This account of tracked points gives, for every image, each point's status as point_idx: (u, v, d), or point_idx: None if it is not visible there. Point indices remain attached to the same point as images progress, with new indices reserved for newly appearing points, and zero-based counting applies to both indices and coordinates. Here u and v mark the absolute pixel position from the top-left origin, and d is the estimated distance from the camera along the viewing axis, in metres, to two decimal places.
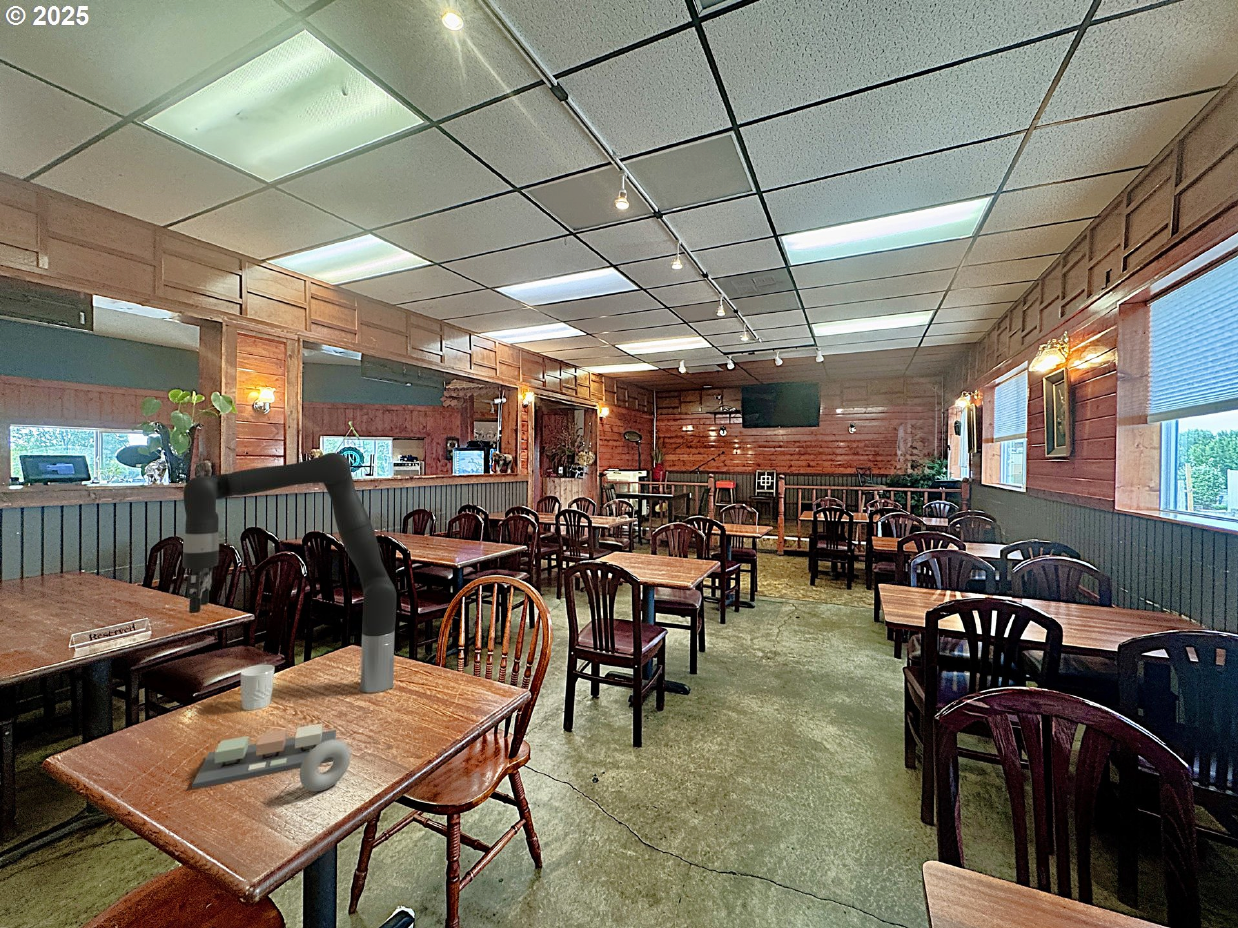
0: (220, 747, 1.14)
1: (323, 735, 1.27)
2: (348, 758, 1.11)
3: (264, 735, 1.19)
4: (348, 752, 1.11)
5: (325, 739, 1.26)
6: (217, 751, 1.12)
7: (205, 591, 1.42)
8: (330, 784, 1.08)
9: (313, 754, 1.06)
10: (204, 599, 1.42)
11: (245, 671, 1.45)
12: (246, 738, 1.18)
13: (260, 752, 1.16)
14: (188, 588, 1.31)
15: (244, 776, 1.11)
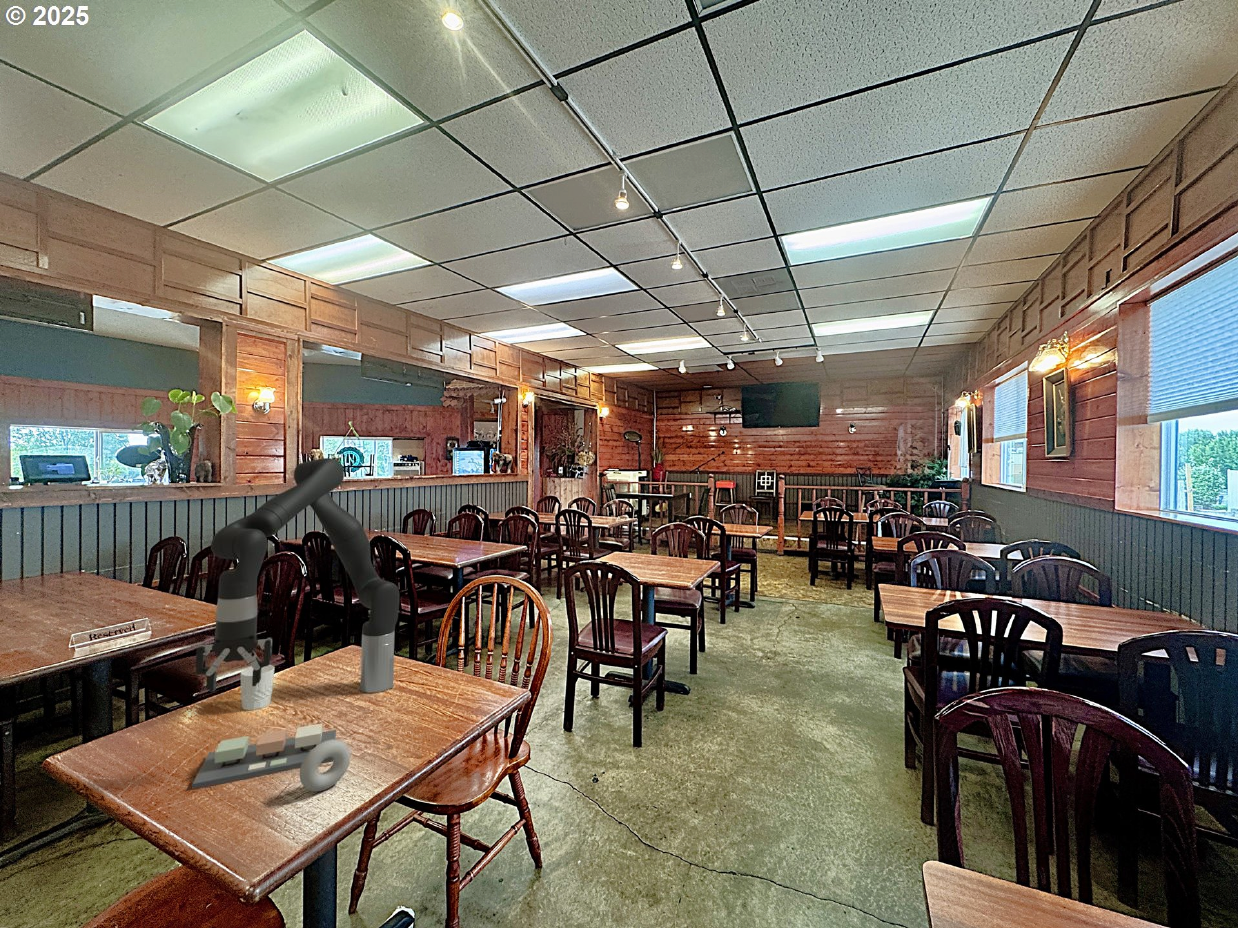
0: (220, 747, 1.14)
1: (323, 735, 1.27)
2: (348, 758, 1.11)
3: (264, 735, 1.19)
4: (348, 752, 1.11)
5: (325, 739, 1.26)
6: (217, 751, 1.12)
7: (215, 672, 1.14)
8: (330, 784, 1.08)
9: (313, 754, 1.06)
10: (215, 683, 1.14)
11: (245, 671, 1.45)
12: (246, 738, 1.18)
13: (260, 752, 1.16)
14: (270, 654, 1.18)
15: (244, 776, 1.11)
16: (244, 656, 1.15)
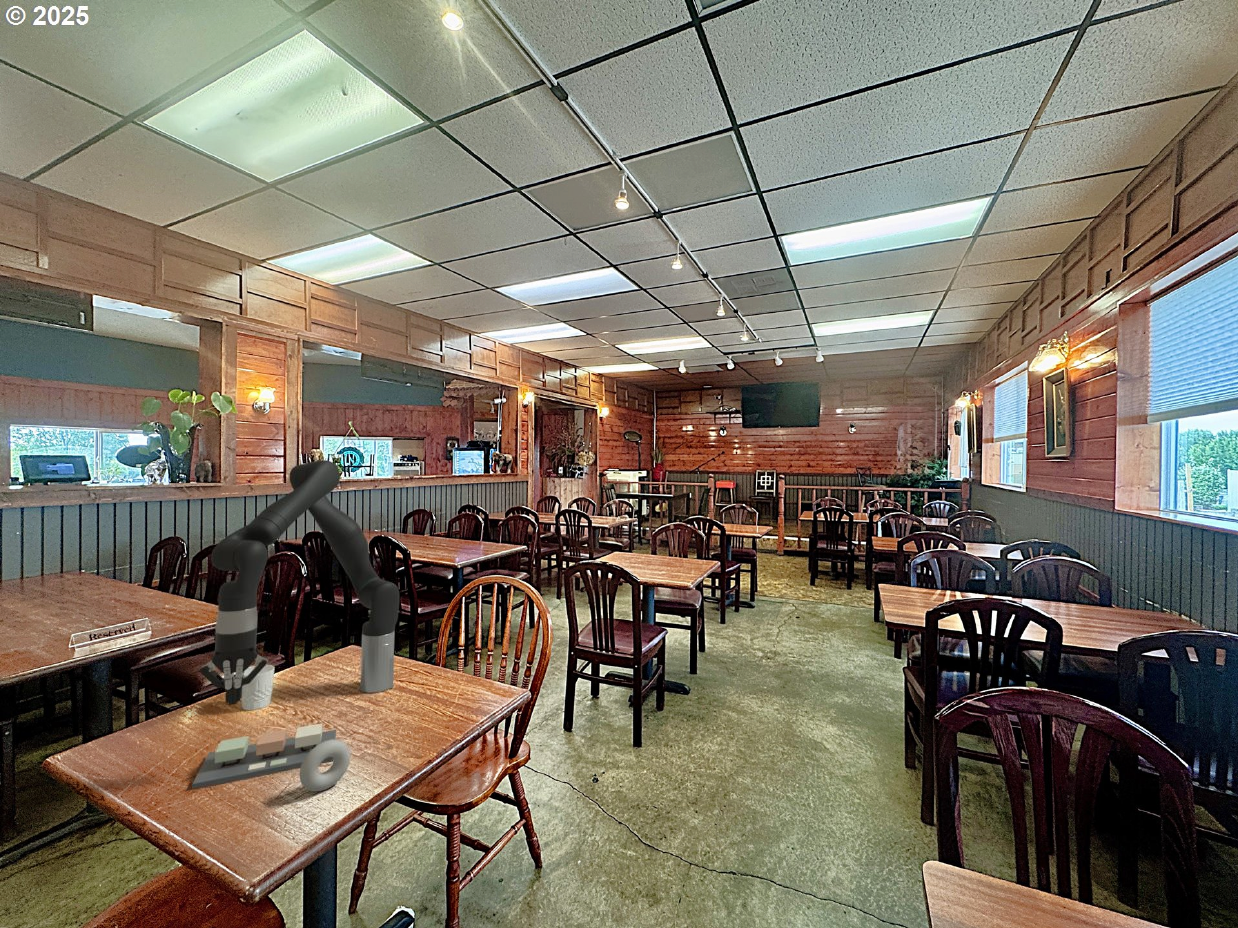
0: (220, 747, 1.14)
1: (323, 735, 1.27)
2: (348, 758, 1.11)
3: (264, 735, 1.19)
4: (348, 752, 1.11)
5: (325, 739, 1.26)
6: (217, 751, 1.12)
7: None
8: (330, 784, 1.08)
9: (313, 754, 1.06)
10: None
11: (245, 671, 1.45)
12: (246, 738, 1.18)
13: (260, 752, 1.16)
14: (256, 674, 1.17)
15: (244, 776, 1.11)
16: (237, 669, 1.14)
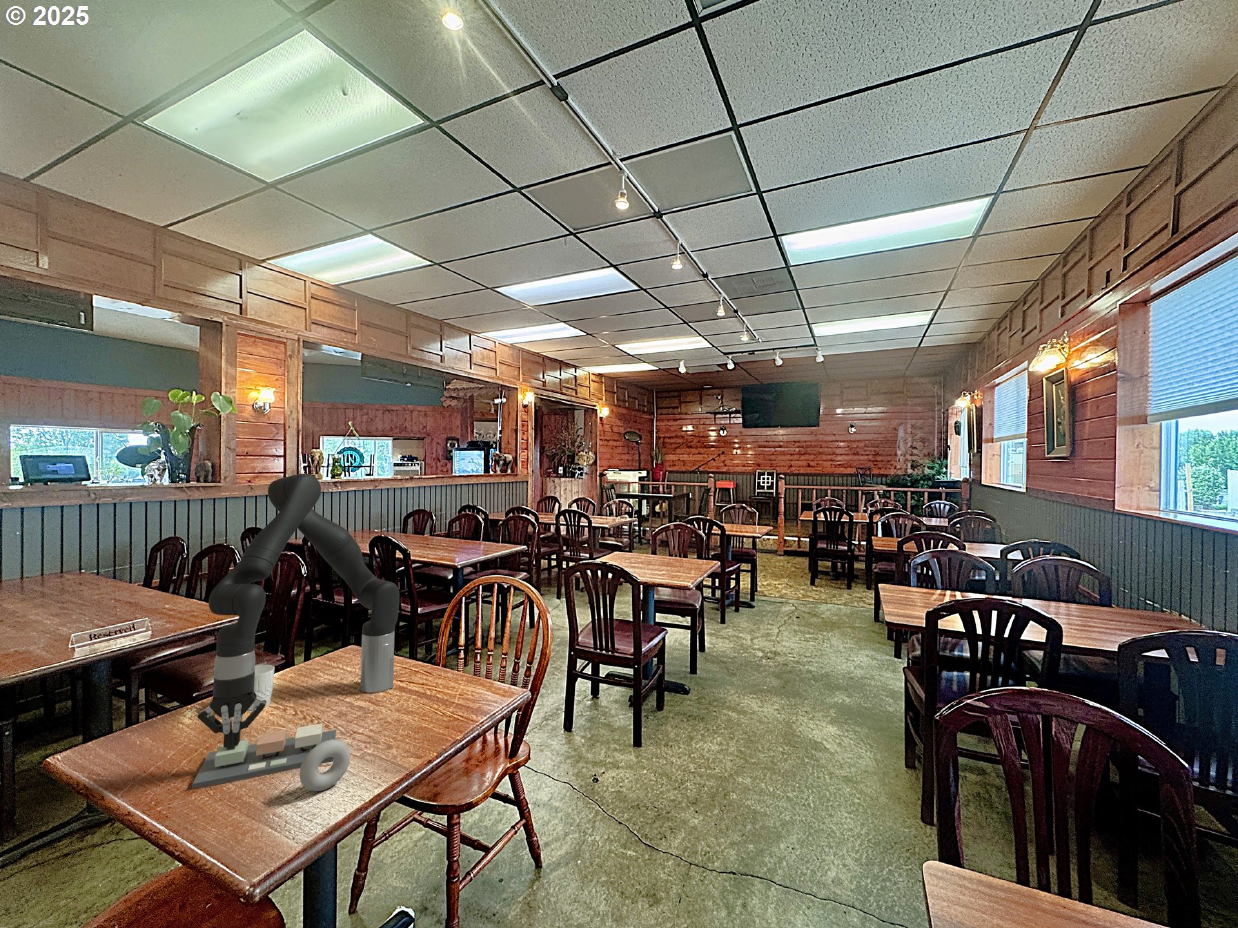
0: (220, 751, 1.14)
1: (323, 735, 1.27)
2: (348, 758, 1.11)
3: (264, 735, 1.19)
4: (348, 752, 1.11)
5: (325, 739, 1.26)
6: (217, 755, 1.12)
7: None
8: (330, 784, 1.08)
9: (313, 754, 1.06)
10: None
11: None
12: (246, 742, 1.18)
13: (260, 752, 1.16)
14: None
15: (244, 776, 1.11)
16: (235, 714, 1.14)
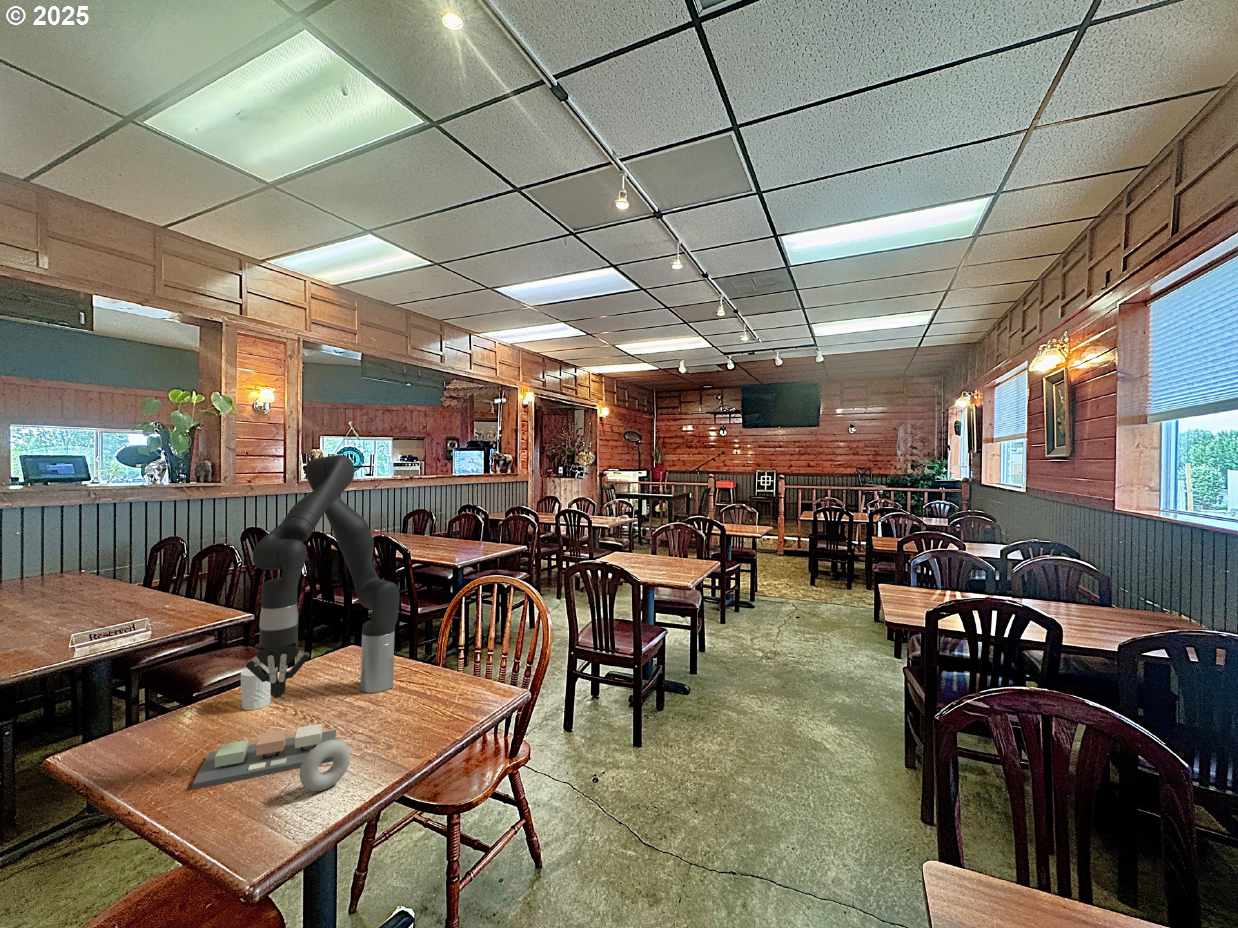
0: (220, 751, 1.14)
1: (323, 735, 1.27)
2: (348, 758, 1.11)
3: (264, 735, 1.19)
4: (348, 752, 1.11)
5: (325, 739, 1.26)
6: (217, 755, 1.12)
7: None
8: (330, 784, 1.08)
9: (313, 754, 1.06)
10: None
11: (245, 671, 1.45)
12: (246, 742, 1.18)
13: (260, 752, 1.16)
14: (299, 668, 1.21)
15: (244, 776, 1.11)
16: (281, 664, 1.18)
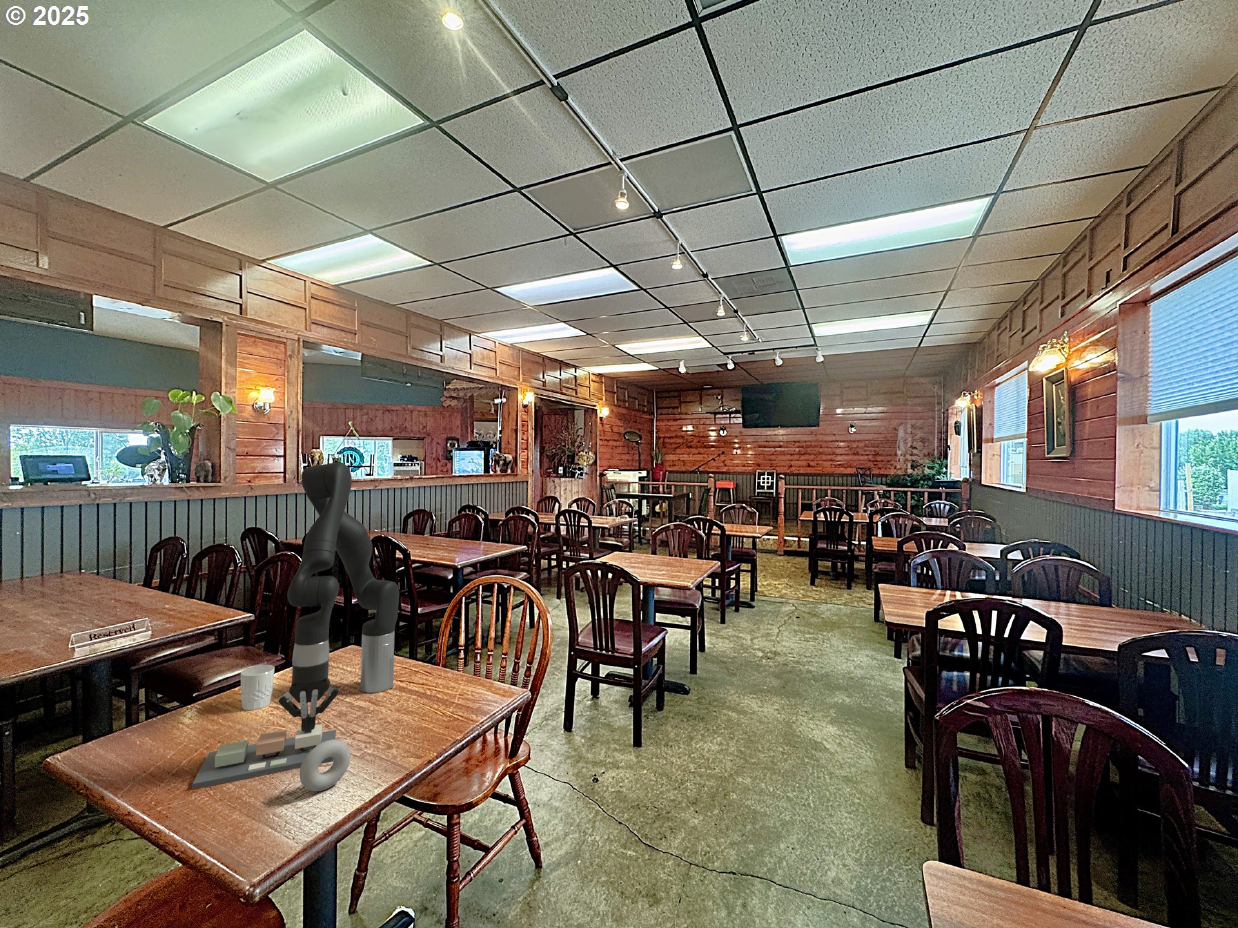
0: (220, 751, 1.14)
1: (323, 735, 1.27)
2: (348, 758, 1.11)
3: (264, 735, 1.19)
4: (348, 752, 1.11)
5: (325, 739, 1.26)
6: (217, 755, 1.12)
7: None
8: (330, 784, 1.08)
9: (313, 754, 1.06)
10: None
11: (245, 671, 1.45)
12: (246, 742, 1.18)
13: (260, 752, 1.16)
14: (329, 703, 1.23)
15: (244, 776, 1.11)
16: (312, 699, 1.21)
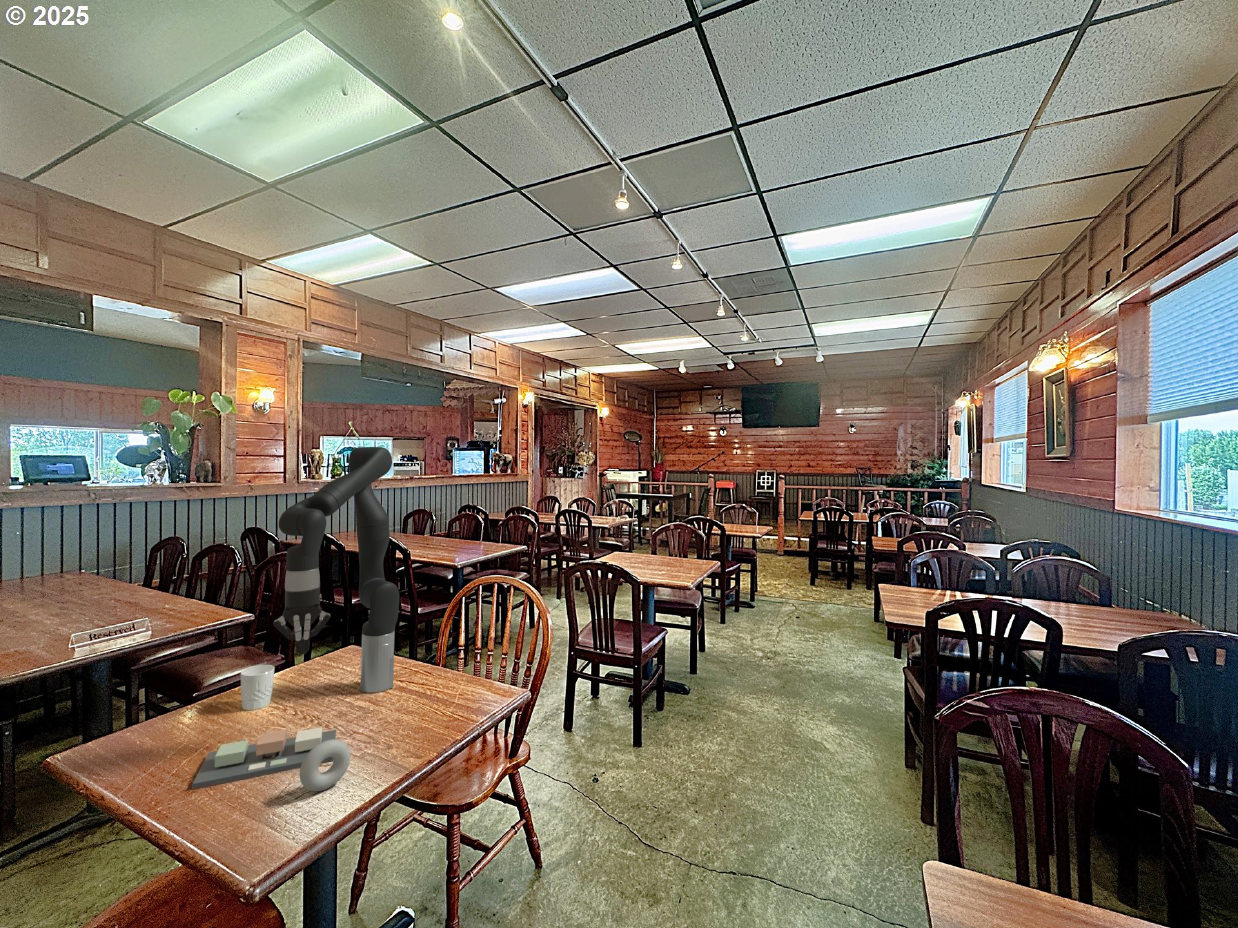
0: (220, 751, 1.14)
1: (323, 735, 1.27)
2: (348, 758, 1.11)
3: (264, 735, 1.19)
4: (348, 752, 1.11)
5: (325, 739, 1.26)
6: (217, 755, 1.12)
7: None
8: (330, 784, 1.08)
9: (313, 754, 1.06)
10: None
11: (245, 671, 1.45)
12: (246, 742, 1.18)
13: (260, 752, 1.16)
14: (322, 627, 1.31)
15: (244, 776, 1.11)
16: (305, 623, 1.28)
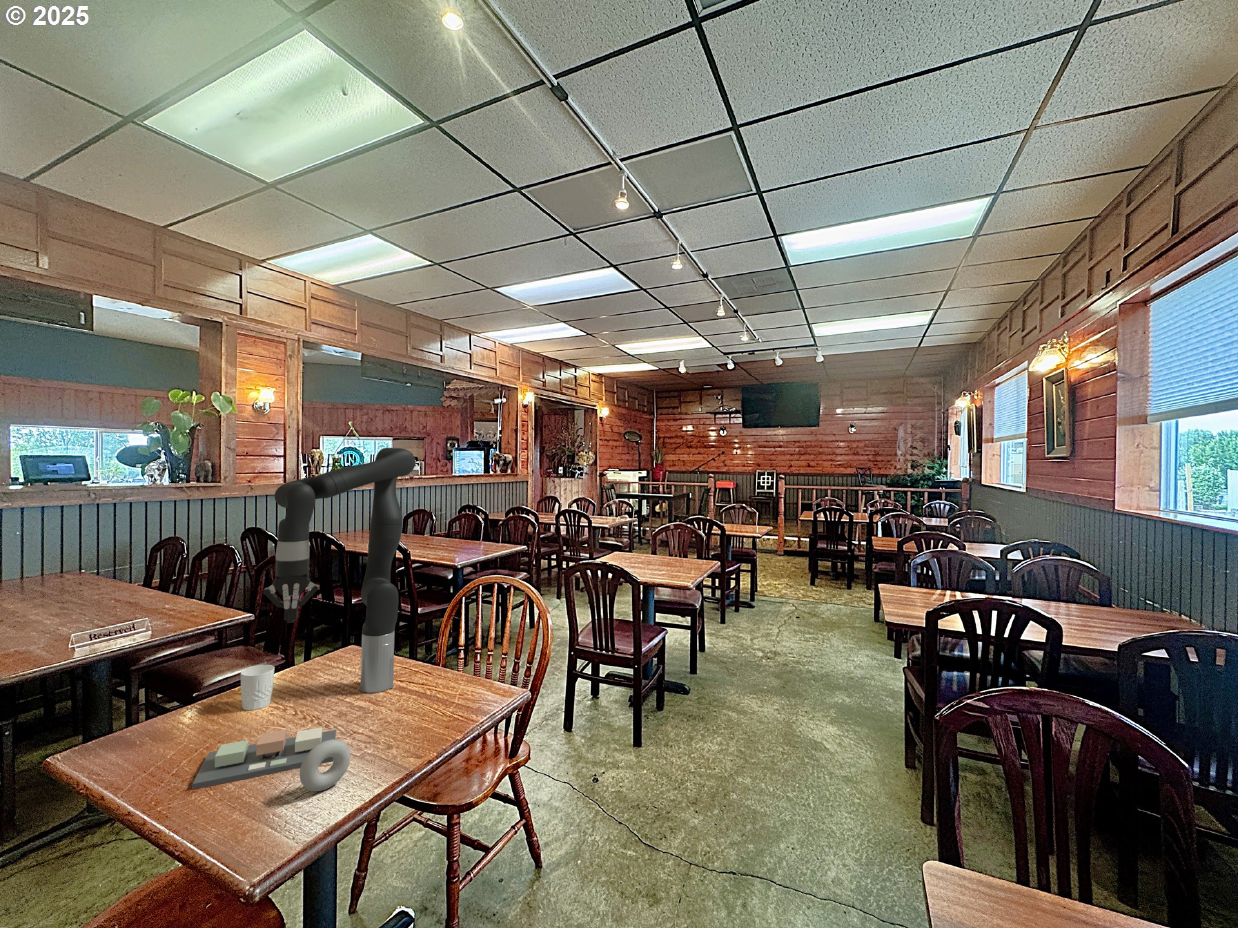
0: (220, 751, 1.14)
1: (323, 735, 1.27)
2: (348, 758, 1.11)
3: (264, 735, 1.19)
4: (348, 752, 1.11)
5: (325, 739, 1.26)
6: (217, 755, 1.12)
7: None
8: (330, 784, 1.08)
9: (313, 754, 1.06)
10: None
11: (245, 671, 1.45)
12: (246, 742, 1.18)
13: (260, 752, 1.16)
14: (309, 597, 1.37)
15: (244, 776, 1.11)
16: (294, 592, 1.34)
